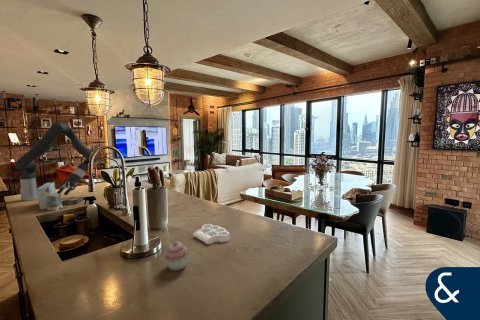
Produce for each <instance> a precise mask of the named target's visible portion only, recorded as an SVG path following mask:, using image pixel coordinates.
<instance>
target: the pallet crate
mask: <svg viewBox="0 0 480 320" xmlns="http://www.w3.org/2000/svg"><path fill="white" fill-rule="evenodd" d="M61 198H62V193H61V194H58V193H56V194H51V195H48V196H47V204H48V208H47V209H46V210H47V211H58V210H59V209H61V208H62V209H63V206H64V205H62V201H61Z"/></svg>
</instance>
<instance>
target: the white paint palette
mask: <svg viewBox="0 0 480 320" xmlns="http://www.w3.org/2000/svg"><path fill="white" fill-rule="evenodd" d="M192 236H193V237H194V238H196V239H198V240H200V241H202V242H204V243H205V244H206V245H211V244H213V243H216V242H217V243H218V242H219V243H225V242H228V241H230V232H229V230H227V229H226V228H224V227H221V226H220V225H216V224H215V225H214V224H212V223H206V224H203V225H201V228H200V229H197V230H195V231H194V232H193V233H192Z"/></svg>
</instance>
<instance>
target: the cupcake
mask: <svg viewBox="0 0 480 320" xmlns="http://www.w3.org/2000/svg"><path fill="white" fill-rule="evenodd" d="M189 255H190V251H189V250H188V249H187V247H186V245H185V244H183V243H182V242H180V241H174V242H173V243H172V244H170V245H169V246H168V248H167V249H166V251H165V254H164V255H163V257H164V260H165V262H166V263H167V267H168V268H169V270H170V271H174V272H175V271H176V272H177V271H180V270H183V269H185V267H186V266H187V262H188V259H189V258H188V257H189Z"/></svg>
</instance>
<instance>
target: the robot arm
mask: <svg viewBox="0 0 480 320" xmlns="http://www.w3.org/2000/svg"><path fill="white" fill-rule="evenodd" d="M61 135H62V136H63V135H64V136H65V137H67V138H68V139H69V140H70V142H71V143H70V144H71V145H72V147H73V149H74V150H76V152H77V153H79V154H80V155H81V156H83V157H84V158H85V159H84V161H83V162H81V163H79V165H77V167H76V168H75V169H74V170H73V171H72V172H71V174H69V176H68V177H67V179H68V180H64V181H63V182H62V183H61V184H60V185H59V189H58V190H57V192H56V194H61V195H62V193H63V192H64V193H63V195H64V196H68V195H69V193H70V192H72V191H74V190H75V189H76V188H77V186H78V185H79V183H80V182H81V180H82V179H83V178H84V177H85V175H86V173H87V172H88V171H89V170H90V168H89V169H88V163H89V157H90V154H91V152H93V151H92V150H91V149H89V147H87V146H86V144H84V143H83V142H82V141H81V140H80V138H79V137H78V135H77V134H76V132H74V130H73V128H72V127H71V125H69V124H68V123H67V122H55V123H53V124H51V126H49V128H48V130H47V131H46V132H45V133H44V135H42V136H41V138H40V139H38V140H37V141H36V142H35V143H34V145H32V147H31V148H30V149H28V151H27V152H26V153H24V154H23V155H22V156H21V157H20V158H18V159H16V161H15V163H14V168H15V169H16V170H18V171H21V172H22V171H24V172H23V173H21V175H20V176H19V181H20V189H19V192H20V201H21V202H22V201H23V202H26V201H29V202H30V201H34V200H38V196H37V190H36V189H37V187H38V186H37V180H36V178H37V177H36V175H37V163H36V161H35V160H36V159H38V158H40V157H42V156H44V155H45V154H47V153H48V151H50V150H51V148H52V147H53V142H54V140H55V139H56V138H58V137H59V136H61ZM97 159H98V158H97V156H96V157H95V159H94V164H93V166H94V165H95V163H97ZM64 190H65V191H64Z"/></svg>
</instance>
